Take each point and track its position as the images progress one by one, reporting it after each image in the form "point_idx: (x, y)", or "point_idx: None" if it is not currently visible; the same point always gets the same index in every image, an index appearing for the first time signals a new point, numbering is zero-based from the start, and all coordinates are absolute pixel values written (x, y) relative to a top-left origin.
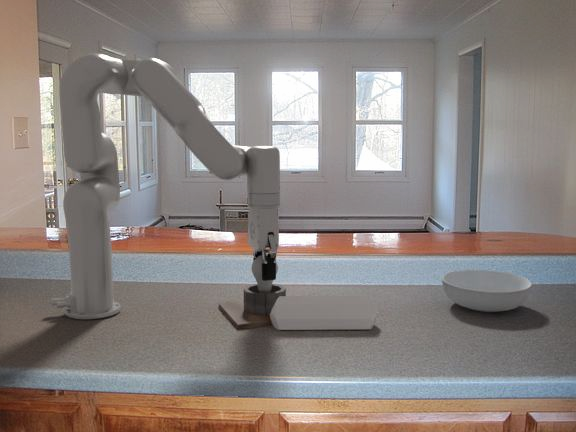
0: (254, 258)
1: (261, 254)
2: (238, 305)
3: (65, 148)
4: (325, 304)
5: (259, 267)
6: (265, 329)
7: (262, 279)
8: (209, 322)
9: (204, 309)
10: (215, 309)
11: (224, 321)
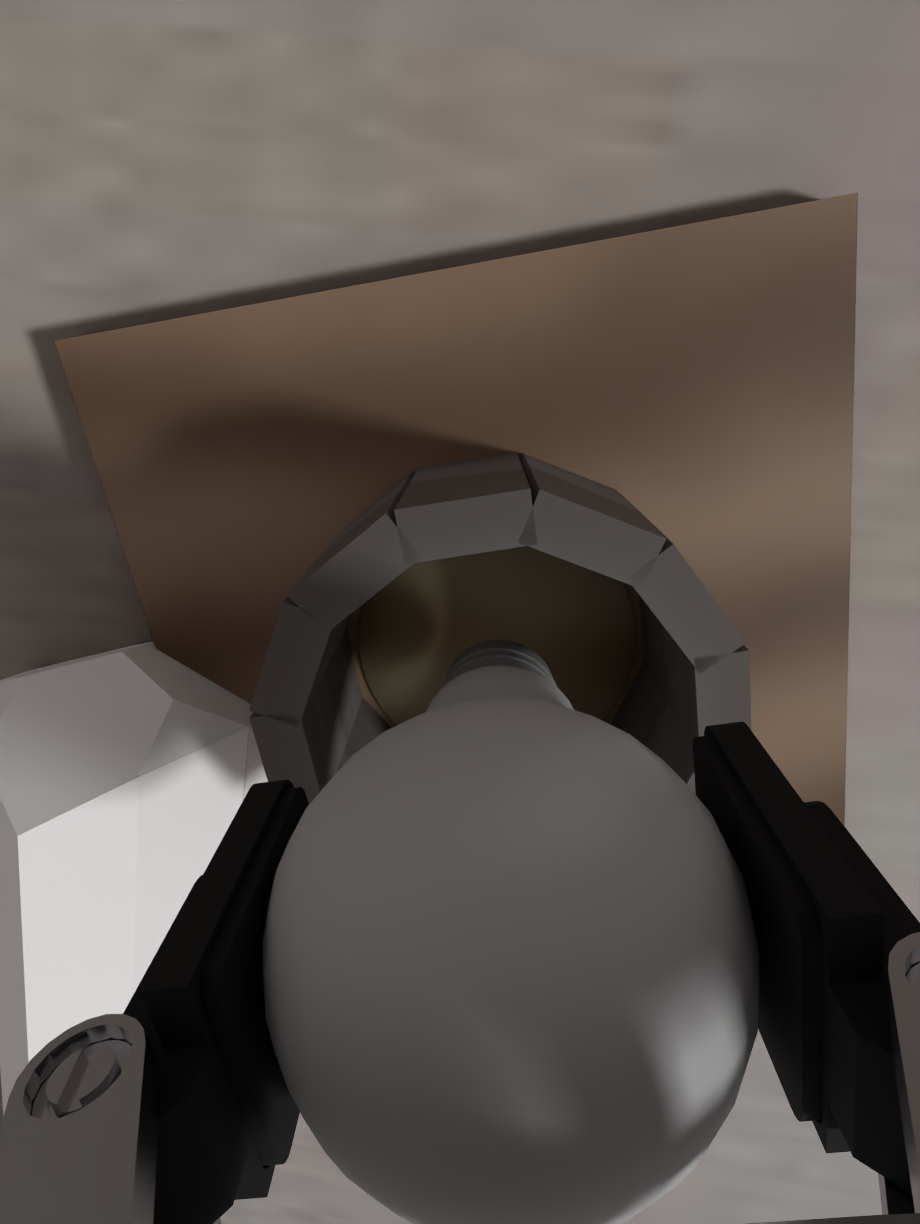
0: (819, 918)
1: (872, 1132)
2: (689, 416)
3: None
4: (4, 1099)
5: (292, 874)
6: (73, 571)
7: (265, 783)
8: (305, 51)
9: (802, 12)
10: (759, 157)
11: (320, 228)
